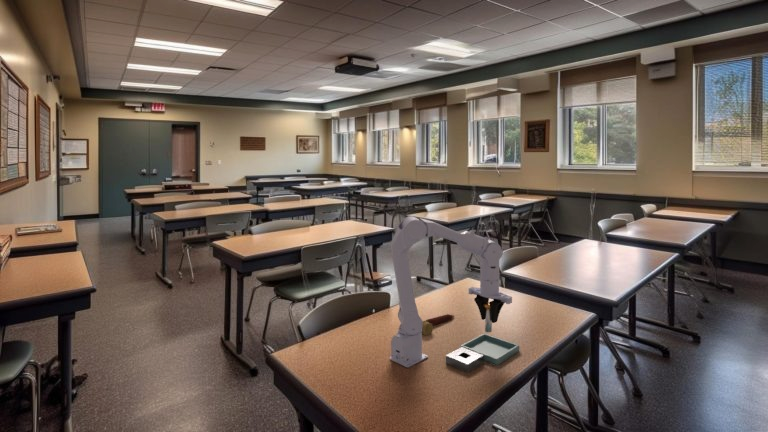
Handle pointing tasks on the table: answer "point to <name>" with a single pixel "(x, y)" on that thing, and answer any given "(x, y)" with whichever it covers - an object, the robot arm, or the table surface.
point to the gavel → (434, 323)
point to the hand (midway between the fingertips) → (489, 320)
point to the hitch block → (464, 359)
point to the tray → (492, 348)
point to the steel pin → (488, 318)
